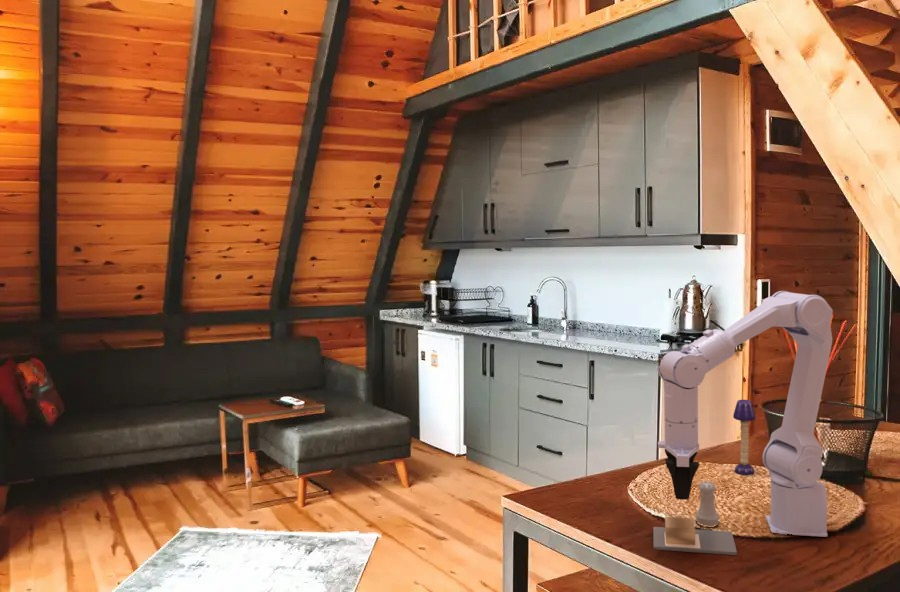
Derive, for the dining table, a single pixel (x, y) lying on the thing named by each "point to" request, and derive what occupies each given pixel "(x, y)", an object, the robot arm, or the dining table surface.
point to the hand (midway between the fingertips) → (681, 493)
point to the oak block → (680, 530)
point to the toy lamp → (744, 434)
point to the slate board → (698, 542)
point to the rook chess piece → (707, 505)
